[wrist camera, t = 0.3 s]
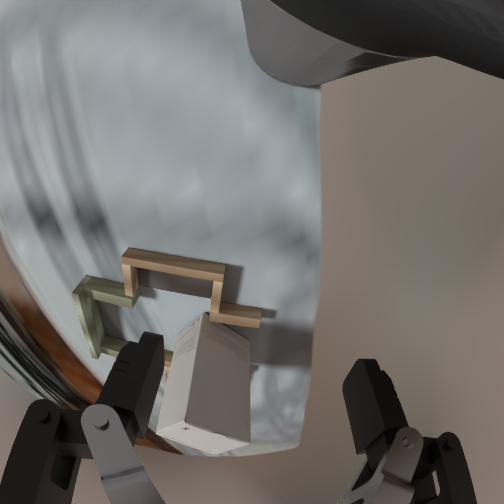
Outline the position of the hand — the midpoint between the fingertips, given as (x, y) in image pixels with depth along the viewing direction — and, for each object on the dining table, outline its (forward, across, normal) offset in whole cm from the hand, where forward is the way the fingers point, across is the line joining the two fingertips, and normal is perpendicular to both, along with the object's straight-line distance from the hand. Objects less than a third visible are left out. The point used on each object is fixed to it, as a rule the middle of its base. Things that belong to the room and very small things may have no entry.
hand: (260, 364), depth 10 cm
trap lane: (+20, +8, +19) cm, 29 cm away
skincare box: (+20, +2, +19) cm, 28 cm away
